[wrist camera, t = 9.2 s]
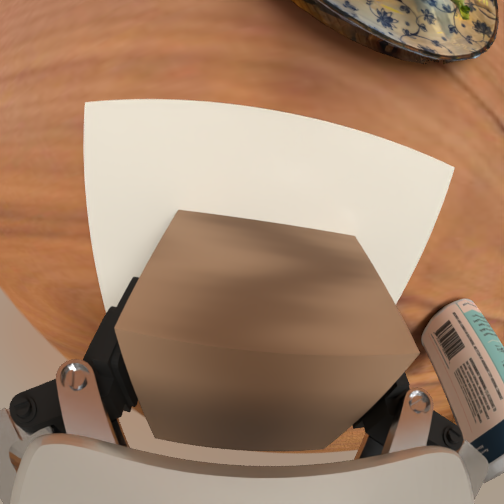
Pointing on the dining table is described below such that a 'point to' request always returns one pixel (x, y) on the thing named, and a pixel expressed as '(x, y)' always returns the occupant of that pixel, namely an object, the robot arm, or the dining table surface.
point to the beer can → (470, 376)
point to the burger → (412, 26)
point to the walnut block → (259, 335)
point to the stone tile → (250, 181)
